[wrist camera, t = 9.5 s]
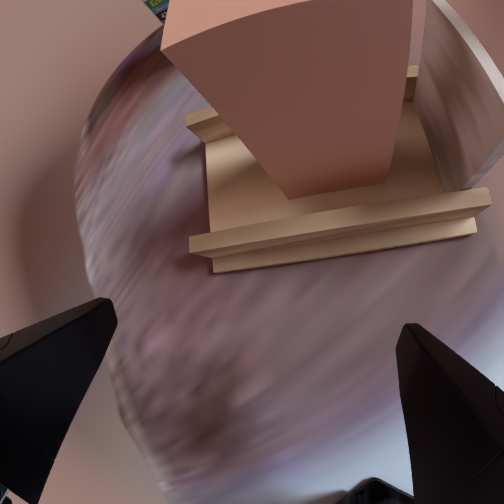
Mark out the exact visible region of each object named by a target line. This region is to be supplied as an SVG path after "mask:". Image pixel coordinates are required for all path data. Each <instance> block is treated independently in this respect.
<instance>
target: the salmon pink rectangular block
mask: <svg viewBox="0 0 504 504" xmlns="http://www.w3.org/2000/svg"><path fill="white" fill-rule="evenodd" d="M412 7H413V0H170V1H169V6H168V10H167V15H166V21H165V26H164V32H163V37H162V43H161V50H160V51H161V52H162V53H163V54H164V55H165V56H166V57H167V58H168V59H169V60H170V61H171V62H172V63H173V64H174V65H175V66H176V67H177V69H178V70H179V71H180V72H181V73H182V74H183V75H184V76H185V77H186V78H187V79H188V80H189V82H190V83H191V84H192V85H193V86H194V87H195V88H196V89H197V90H198V92H199V93H200V94H201V95H202V96H203V97H204V98H205V99H206V100H207V102H208V103H209V104H210V105H211V106H212V107H213V108H214V110H215V111H216V112H217V113H218V114H219V115H220V117H221V118H222V119H223V120H224V121H225V122H226V124H227V125H228V126H229V127H230V128H231V129H232V131H233V132H234V133H235V134H236V135H237V137H238V138H239V139H240V140H241V141H242V143H243V144H244V145H245V146H246V147H247V149H248V150H249V151H250V152H251V153H252V155H253V156H254V157H255V158H256V160H257V161H258V162H259V163H260V165H261V166H262V167H263V168H264V170H265V171H266V172H267V173H268V175H269V176H270V177H271V178H272V180H273V181H274V182H275V183H276V185H277V186H278V187H279V189H280V190H281V191H282V192H283V194H284V195H285V196H286V198H287V199H288V200H291V199H296V198H302V197H307V196H312V195H318V194H323V193H329V192H335V191H341V190H347V189H353V188H359V187H365V186H371V185H377V184H384V183H386V181H387V177H388V173H389V168H390V164H391V160H392V155H393V151H394V146H395V141H396V137H397V132H398V126H399V121H400V116H401V110H402V104H403V98H404V91H405V84H406V77H407V69H408V61H409V51H410V40H411V26H412Z"/></svg>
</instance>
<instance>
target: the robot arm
mask: <svg viewBox="0 0 504 504" xmlns="http://www.w3.org/2000/svg"><path fill="white" fill-rule="evenodd" d="M116 327H117V316H116V313H115V310H114V306H113V303H112V301H111V300H110V299H108V298H102V297H99V298H96V299H94V300H92V301H89V302H87V303H84V304H82V305H79V306H77V307H74V308H72V309H69V310H67V311H64V312H62V313H60V314H57V315H55V316H52V317H50V318H48V319H45V320H43V321H40V322H38V323H35V324H33V325H31V326H28V327H26V328H23V329H21V330H19V331H16V332H15V333H11V334H9V335H7V336H4V337H2V338H0V504H12V501H11V499H9V498H8V497H7V496H6V495H7V493H8V491H9V490H10V491H12V492H13V493H14V494H16V495H17V496H19V497H20V498H22V499H23V500H24V501H26V502H27V503H29V504H38V502H39V499H40V497H41V494H42V491H43V489H44V486H45V483H46V481H47V478H48V476H49V473H50V471H51V468H52V466H53V463H54V460H55V458H56V456H57V454H58V451H59V449H60V447H61V444H62V442H63V440H64V438H65V435H66V433H67V431H68V429H69V427H70V424H71V422H72V420H73V418H74V416H75V414H76V412H77V409H78V408H79V405H80V403H81V402H82V400H83V397H84V396H85V394H86V392H87V389H88V388H89V386H90V384H91V382H92V380H93V378H94V376H95V374H96V372H97V370H98V368H99V366H100V364H101V362H102V360H103V358H104V356H105V353H106V351H107V348H108V346H109V343H110V341H111V339H112V336H113V334H114V332H115V329H116ZM396 358H397V368H398V378H399V389H400V398H401V404H402V409H403V414H404V420H405V426H406V433H407V439H408V446H409V454H410V462H411V471H412V481H413V493H414V496H412V495H410V494H408V493H406V492H404V491H402V490H400V489H398V488H396V487H394V486H392V485H390V484H388V483H386V482H385V481H383V480H381V479H379V478H372V479H370V480H369V481H368V482H367V483H365V484H364V485H363V486H362V487H360V488H359V489H358V490H356V491H355V492H354V493H351V494H349V495H348V496H346V497H345V498H343V499H342V500H341V501H339V502H338V503H337V504H504V391H502V390H501V389H500V388H499V387H498V386H495V384H494V383H493V382H492V381H490V380H489V379H488V378H487V377H485V376H484V375H483V374H482V373H481V372H479V371H478V370H477V369H476V368H474V367H473V366H472V365H471V364H469V363H468V362H467V361H466V360H464V359H463V358H462V357H461V356H459V355H458V354H457V353H455V352H454V351H453V350H452V349H450V348H449V347H448V346H446V345H445V344H444V343H443V342H441V341H440V340H439V339H437V338H436V337H435V336H434V335H432V334H431V333H430V332H428V331H427V330H426V329H424V328H423V327H422V326H420V325H419V324H417V323H406V324H405V325H404V326H403V328H402V331H401V334H400V337H399V340H398V342H397V345H396ZM373 483H377V484H376V485H372V484H373Z"/></svg>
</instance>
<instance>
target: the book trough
mask: <svg viewBox="0 0 504 504" xmlns="http://www.w3.org/2000/svg"><path fill="white" fill-rule="evenodd" d="M186 127H187V128H188V129H189V130H190V131H192V132H193V133H194V134H195V135H196V136H197V137H198V138H199V139H200V140H202V141H203V142H204V143H205V144H206V166H207V186H208V204H209V220H210V232H209V233H204V234H199V235H194V236H189V252H190V253H192V254H196V255H201V256H205V257H209V258H212V261H213V273H225V272H232V271H240V270H247V269H254V268H261V267H268V266H275V265H282V264H289V263H296V262H303V261H310V260H317V259H324V258H330V257H337V256H344V255H350V254H357V253H363V252H369V251H376V250H382V249H388V248H395V247H401V246H407V245H413V244H419V243H425V242H431V241H437V240H443V239H449V238H455V237H461V236H467V235H472V234H475V233H477V228H476V223H475V219H474V217H475V216H476V215H478V214H479V213H480V212H482V211H483V210H485V209H486V208H488V207H489V206H490V205H492V202H491V198H490V194H489V191H488V188H487V187H485V188H477V189H471V188H472V187H473V186H474V185H475V184H476V183H477V182H478V181H479V180H480V179H481V178H482V177H483V176H484V175H485V174H486V173H487V172H488V171H489V170H490V169H491V168H492V167H493V166H494V164H495V163H496V162H497V161H498V160H499V159H500V158H501V157H502V156H503V155H504V78H503V77H502V75H501V74H500V72H499V70H498V69H497V67H496V66H495V64H494V63H493V61H492V59H491V58H490V56H489V55H488V53H487V52H486V51H485V49H484V48H483V46H482V45H481V44H480V42H479V41H478V39H477V38H476V37H475V36H474V34H473V33H472V32H471V30H470V29H469V28H468V26H467V25H466V24H465V23H464V22H463V20H462V19H461V18H460V17H459V16H458V14H457V13H456V12H455V11H454V10H453V9H452V8H451V6H450V5H449V4H448V3H447V2H446V1H445V0H427V6H426V18H425V27H424V36H423V44H422V52H421V58H420V64H419V65H417V66H408V69H407V77H406V84H405V91H404V98H403V104H402V110H401V116H400V121H399V126H398V132H397V137H396V141H395V146H394V151H393V155H392V160H391V164H390V168H389V173H388V177H387V181H386V183H384V184H377V185H371V186H365V187H359V188H353V189H347V190H341V191H335V192H329V193H323V194H318V195H312V196H307V197H302V198H296V199H291V200H288V199H287V198H286V196H285V195H284V194H283V192H282V191H281V190H280V189H279V187H278V186H277V185H276V183H275V182H274V181H273V180H272V178H271V177H270V176H269V175H268V173H267V172H266V171H265V170H264V168H263V167H262V166H261V165H260V163H259V162H258V161H257V160H256V158H255V157H254V156H253V155H252V153H251V152H250V151H249V150H248V149H247V147H246V146H245V145H244V144H243V143H242V141H241V140H240V139H239V138H238V137H237V135H236V134H235V133H234V132H233V131H232V129H231V128H230V127H229V126H228V125H227V124H226V122H225V121H224V120H223V119H222V118H221V117H220V115H219V114H218V113H217V112H216V111H215V110H214V108H213V107H212V106H211V107H208V108H205V109H203V110H200V111H197V112H194V113H192V114H189V115H186Z"/></svg>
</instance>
